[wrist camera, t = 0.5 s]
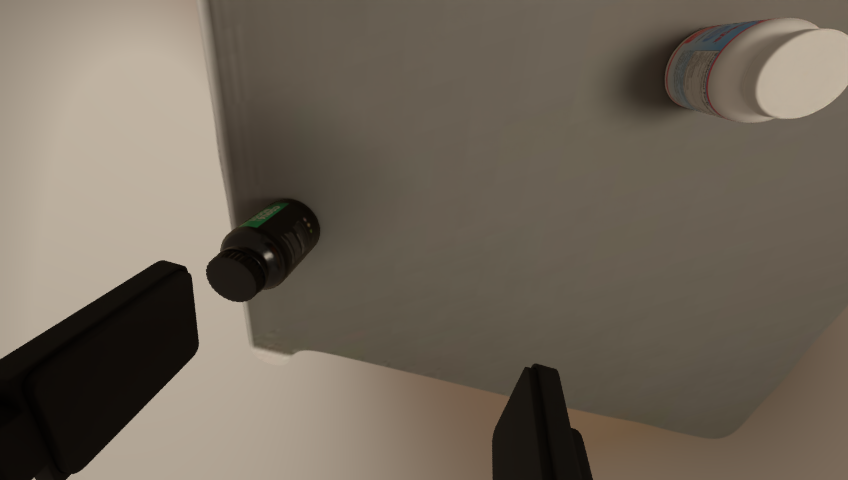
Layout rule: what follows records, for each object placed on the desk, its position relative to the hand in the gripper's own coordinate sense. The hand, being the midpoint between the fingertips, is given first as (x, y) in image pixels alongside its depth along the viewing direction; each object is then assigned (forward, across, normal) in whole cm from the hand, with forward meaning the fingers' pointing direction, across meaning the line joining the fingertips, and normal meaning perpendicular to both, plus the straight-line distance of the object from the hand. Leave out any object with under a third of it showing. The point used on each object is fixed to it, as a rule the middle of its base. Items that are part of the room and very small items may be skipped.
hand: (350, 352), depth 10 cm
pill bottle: (+29, -19, -11) cm, 36 cm away
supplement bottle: (+29, +15, +14) cm, 36 cm away
